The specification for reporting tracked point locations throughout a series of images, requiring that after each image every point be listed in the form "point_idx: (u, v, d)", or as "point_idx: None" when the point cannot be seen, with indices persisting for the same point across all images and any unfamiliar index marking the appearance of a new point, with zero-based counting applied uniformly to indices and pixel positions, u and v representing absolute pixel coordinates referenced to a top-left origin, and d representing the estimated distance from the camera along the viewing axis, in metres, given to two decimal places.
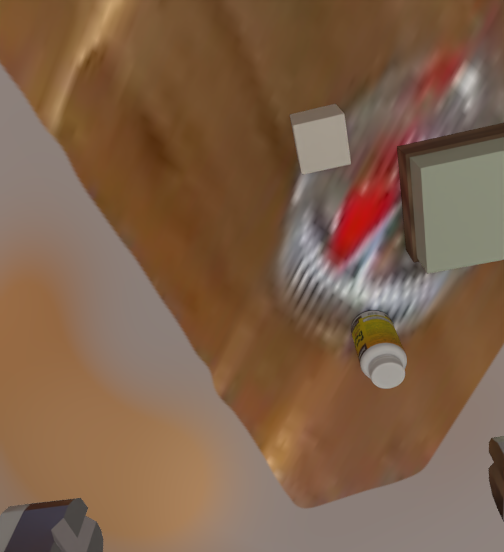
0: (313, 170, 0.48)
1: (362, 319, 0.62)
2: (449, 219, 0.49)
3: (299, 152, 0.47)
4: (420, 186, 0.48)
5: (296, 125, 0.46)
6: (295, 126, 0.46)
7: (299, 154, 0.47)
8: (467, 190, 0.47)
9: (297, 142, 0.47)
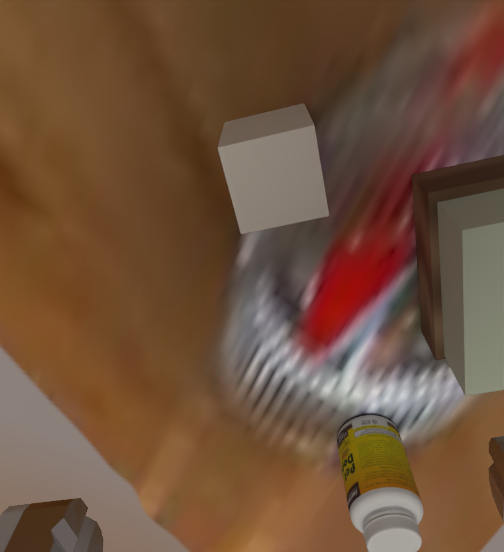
0: (261, 227, 0.26)
1: (354, 431, 0.40)
2: None
3: (233, 195, 0.26)
4: (459, 259, 0.26)
5: (224, 147, 0.24)
6: (222, 149, 0.24)
7: (233, 199, 0.26)
8: None
9: (228, 178, 0.25)
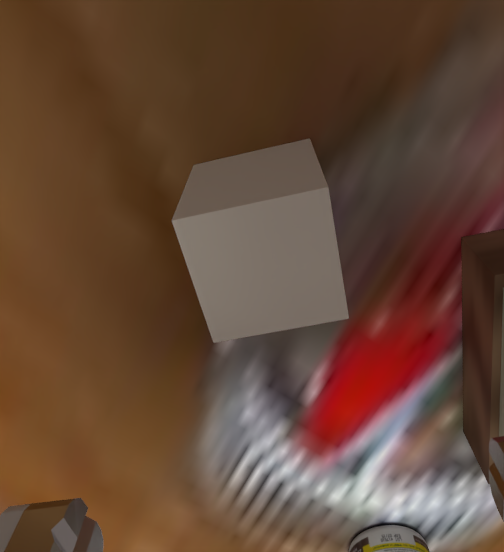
0: (244, 333, 0.17)
1: (371, 550, 0.31)
2: None
3: (200, 290, 0.16)
4: None
5: (183, 219, 0.15)
6: (179, 222, 0.15)
7: (200, 295, 0.16)
8: None
9: (191, 265, 0.16)
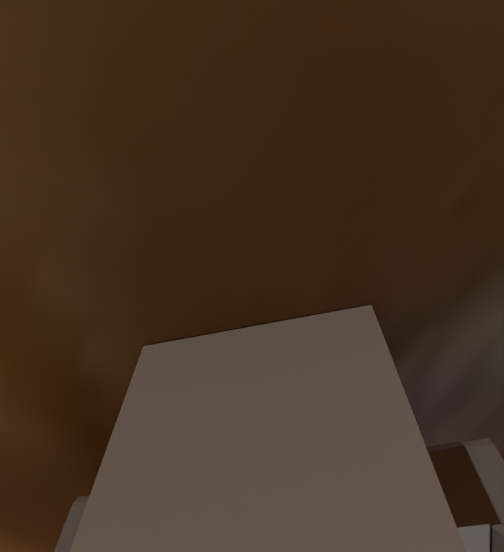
0: None
1: None
2: None
3: None
4: None
5: None
6: None
7: None
8: None
9: None
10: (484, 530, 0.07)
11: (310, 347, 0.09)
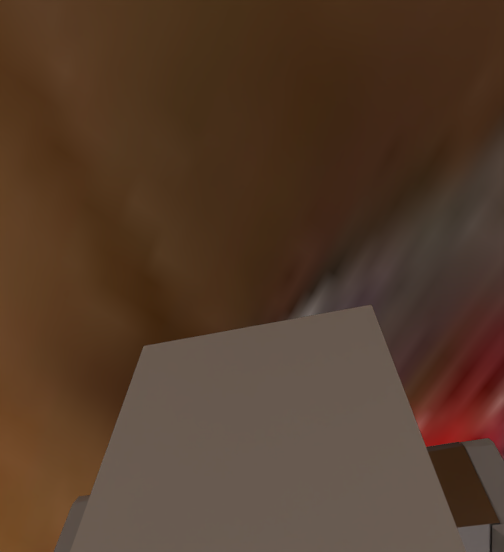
0: None
1: None
2: None
3: None
4: None
5: None
6: None
7: None
8: None
9: None
10: (484, 530, 0.07)
11: (310, 347, 0.09)
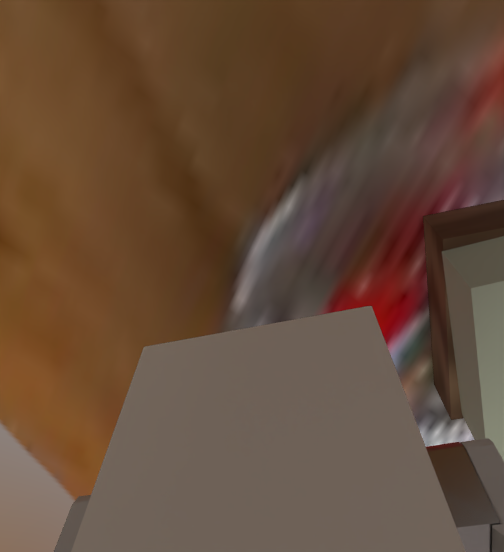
0: None
1: None
2: None
3: None
4: (469, 318, 0.23)
5: None
6: None
7: None
8: None
9: None
10: (484, 530, 0.07)
11: (310, 348, 0.09)
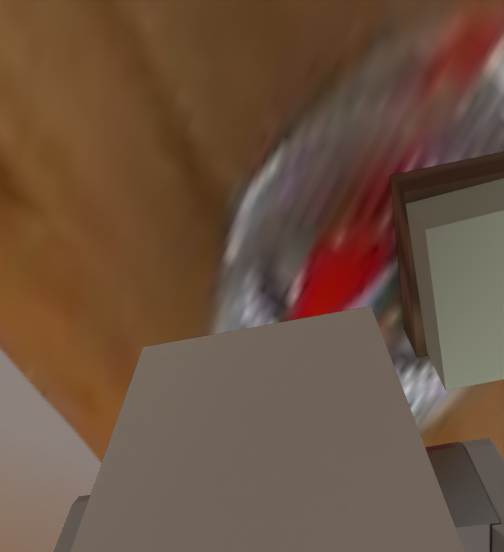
0: None
1: None
2: (479, 308, 0.28)
3: None
4: (426, 257, 0.27)
5: None
6: None
7: None
8: None
9: None
10: (484, 530, 0.07)
11: (310, 348, 0.09)
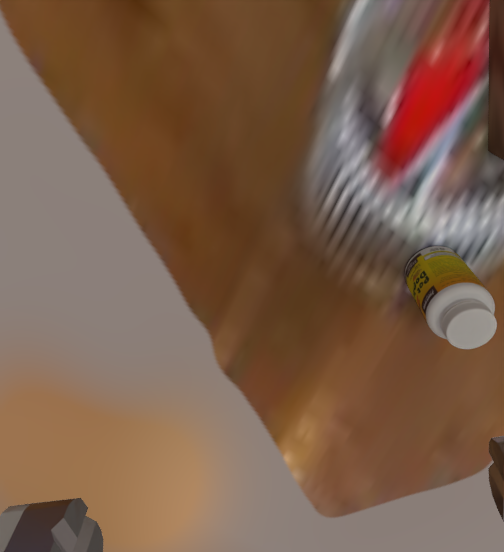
0: None
1: (423, 256, 0.44)
2: None
3: None
4: None
5: None
6: None
7: None
8: None
9: None
10: None
11: None
